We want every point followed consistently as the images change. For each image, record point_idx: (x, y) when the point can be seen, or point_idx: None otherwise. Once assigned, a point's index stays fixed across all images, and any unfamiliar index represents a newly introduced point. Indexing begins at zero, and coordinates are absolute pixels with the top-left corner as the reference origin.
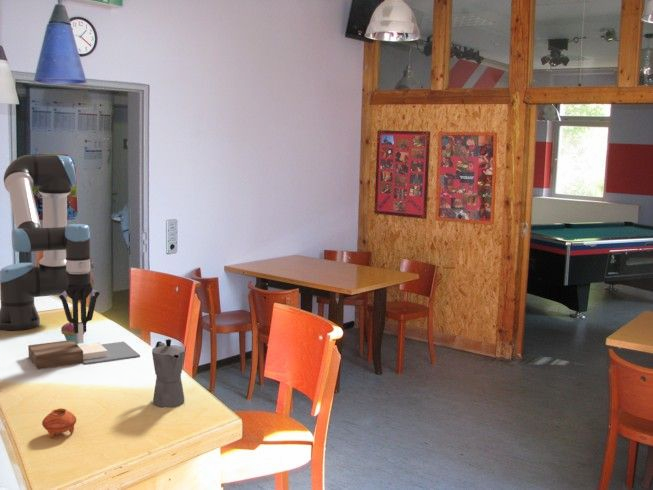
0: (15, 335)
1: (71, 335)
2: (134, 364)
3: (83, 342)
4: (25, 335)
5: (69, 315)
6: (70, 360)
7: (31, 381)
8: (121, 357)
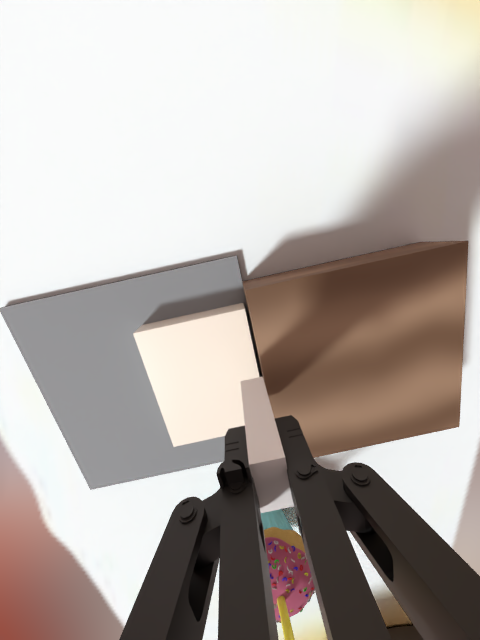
0: None
1: (277, 528)
2: (15, 196)
3: (240, 382)
4: None
5: (406, 534)
6: (296, 272)
7: (474, 64)
8: (80, 295)
